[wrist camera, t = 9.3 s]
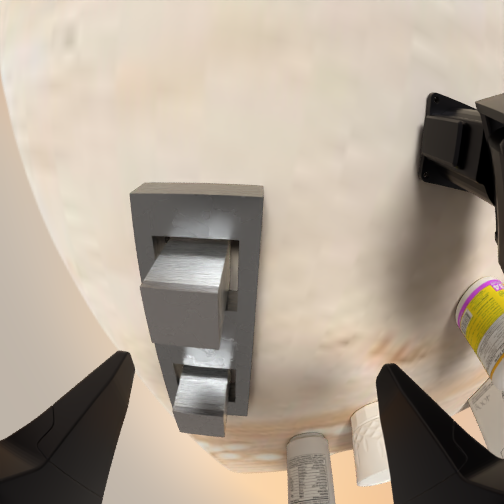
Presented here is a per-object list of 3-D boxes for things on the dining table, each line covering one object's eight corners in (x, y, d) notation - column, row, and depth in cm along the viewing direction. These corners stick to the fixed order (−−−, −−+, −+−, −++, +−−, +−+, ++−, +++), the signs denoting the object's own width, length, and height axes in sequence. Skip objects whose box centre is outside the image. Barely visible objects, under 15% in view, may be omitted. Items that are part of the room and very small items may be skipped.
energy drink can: (287, 448, 36) (290, 533, 23) (284, 433, 34) (287, 530, 20) (326, 443, 36) (335, 528, 22) (328, 428, 33) (339, 524, 20)
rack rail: (262, 185, 18) (263, 197, 16) (248, 397, 29) (247, 416, 27) (144, 182, 18) (129, 193, 16) (177, 390, 29) (172, 408, 27)
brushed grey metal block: (230, 353, 26) (223, 417, 19) (230, 378, 27) (224, 437, 21) (187, 349, 26) (172, 410, 19) (192, 374, 27) (180, 432, 21)
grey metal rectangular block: (230, 233, 20) (217, 293, 14) (229, 281, 22) (219, 350, 16) (174, 230, 20) (139, 287, 14) (178, 278, 22) (151, 342, 16)
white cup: (361, 398, 29) (377, 469, 20) (411, 394, 30) (432, 456, 21) (337, 427, 33) (346, 489, 24) (384, 424, 33) (398, 480, 24)
